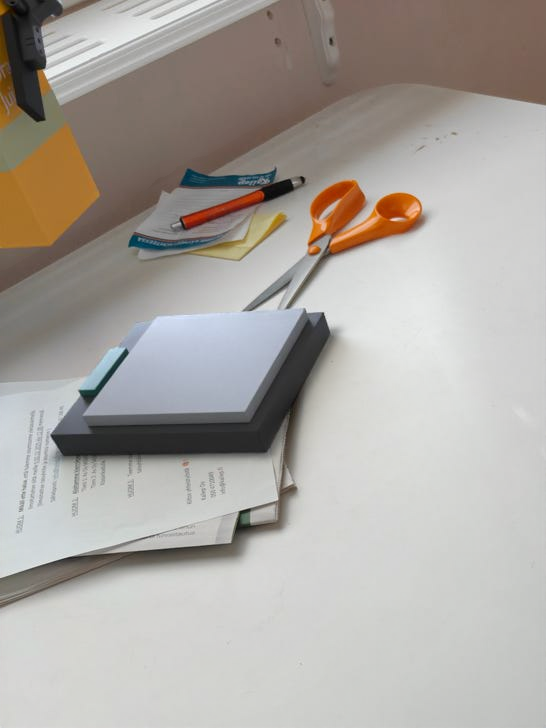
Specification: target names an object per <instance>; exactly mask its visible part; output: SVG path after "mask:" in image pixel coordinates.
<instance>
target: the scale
mask: <svg viewBox="0 0 546 728" xmlns="http://www.w3.org/2000/svg"><path fill="white" fill-rule="evenodd" d="M330 335H331V330H330V327H329V323H328V321H327V318H326V314H325V312H324V311H315V312H308V311H307V309H306V308H305V307H301V308H300V307H297V308H284V309H283V308H280V309H268V310H267V309H265V310H250V311H249V310H248V311H247V310H246V311H230V312H214V313H213V312H212V313H211V312H210V313H196V314H195V313H194V314H177V315H161V316H155V318H154V319H153V321H137V322H136V323H135V324H134V325H133V326H132V327H131V329H130V330H129V332H128V333H127V334H126V335H125V337H124V338H123V339H122V341H121V342H120V343H119V345H118V346H117V347H114V348H113V347H112V348H109V350H108V351H107V352H106V353H105V355H104V356H103V357H102V358H101V360H100V362H99V363H98V364H97V365H96V366H95V367H94V369H93V370H92V371H91V373H90V374H89V375H88V376H87V378H86V379H85V381H84V382H83V383H82V384H81V386H80V387H79V388H78V390H77V391H78V393H79V396H78V398H76V400H75V402H74V403H73V404H72V405H71V407H70V408H69V409H68V411H67V413H65V414H64V416H63V417H62V419H61V420H60V421H59V422H58V424H57V425H56V426H55V427H54V429H53V430H52V432H51V433H50V434H49V436H50V438H51V440H52V441H53V443H54V445H55V446H56V447H57V449H58V451H59V452H60V454H61V455H62V456H84V455H85V456H87V455H88V456H89V455H91V456H94V455H95V456H97V455H98V456H99V455H100V456H101V455H159V454H162V455H164V454H165V455H167V454H172V455H173V454H175V455H176V454H230V453H231V454H236V453H237V454H238V453H239V454H240V453H241V454H242V453H243V454H245V453H246V454H247V453H248V454H249V453H267V452H268V450H269V448H270V446H271V445H272V442H273V441H274V439H275V437H276V435H277V434H278V432H279V430H280V428H281V425H282V424H283V422H284V420H285V419H286V417H287V414H288V413H289V411H290V409H291V408H292V405H293V403H294V401H295V400H296V399H297V396H298V394H299V393H300V391H301V388H302V387H303V385H304V383H305V381H306V379H307V378H308V375H309V374H310V372H311V370H312V368H313V366H314V364H315V363H316V361H317V359H318V357H319V355H320V354H321V351H322V349H323V348H324V346H325V344H326V342H327V341H328V338H329V337H330Z"/></svg>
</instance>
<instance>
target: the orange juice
mask: <svg viewBox="0 0 546 728" xmlns="http://www.w3.org/2000/svg"><path fill="white" fill-rule="evenodd" d="M10 13H11V14H12V15H13V16H14V12H13V11H12V10H11V9H10V8H9V6H8V5H7V4H6V2H5V1H4V0H0V249H16V248H17V249H18V248H34V247H36V248H37V247H51V246H52V245H53V244H54V243H55V242H56V241H57V240H58V239H59V238H60V237H61V236H62V235H63V233H65V232H66V231H67V230H68V229H69V227H70V226H72V225H73V223H75V221H77V219H79V218H80V217H81V215H83V214H84V213H85V212H86V211H87V210H88V209H89V208H90V207H91V206H92V205H93V203H95V201H96V200H97V199H98V198H99V197H101V193H100V191H99V189H98V187H97V185H96V182H95V180H94V178H93V176H92V174H91V172H90V169H89V167H88V165H87V163H86V161H85V159H84V157H83V155H82V152H81V150H80V147H79V146H78V143H77V141H76V139H75V137H74V135H73V133H72V130H71V128H70V126H69V124H68V119H67V118H66V116H65V113H64V111H63V109H62V108H61V105H60V102H59V101H58V98H57V96H56V94H55V92H54V90H53V88H52V86H51V85H50V82H49V81H48V78H47V76H46V74H45V71H44V69H42V70H38V71H37V73H38V79H39V84H40V90H41V96H42V101H43V107H44V112H45V118H46V121H41V122H36V121H34V120H33V119H32V118H31V117H30V116H29V115H28V114H26V113H25V112H24V111H23V110H22V109H21V108H20V107H18V106H17V103H16V97H15V92H14V86H13V81H12V75H11V69H10V64H9V58H8V53H7V47H6V41H5V36H4V30H3V25H2V19H1V15H5V14H10ZM14 18H15V16H14Z"/></svg>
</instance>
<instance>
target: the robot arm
mask: <svg viewBox="0 0 546 728" xmlns="http://www.w3.org/2000/svg"><path fill="white" fill-rule="evenodd" d="M4 1H5V2H6V4H7V5H8V6H9V8H10V9H11V10H12V11H13V12H14V16H15V18H14V16H13V15H12V14H11V13H10V14H5V15H1V19H2V25H3V30H4V36H5V41H6V47H7V53H8V58H9V64H10V69H11V75H12V81H13V86H14V92H15V97H16V103H17V106H18V107H20V108H21V109H22V110H23V111H24V112H25V113H26V114H28V115H29V116H30V117H31V118H32V119H33V120H34V121H36V122H41V121H46V118H45V112H44V107H43V101H42V96H41V90H40V84H39V79H38V73H37V71H38V70H42V69H43V70H46V68H47V62H48V61H47V56H46V50H45V43H44V38H43V33H42V26H43V22H44V21H45V20H46V19H48V18H49V17H53V18H58V17H60V16H61V15H62V14H63V12H64V6H63V3H62V1H61V0H4Z"/></svg>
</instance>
